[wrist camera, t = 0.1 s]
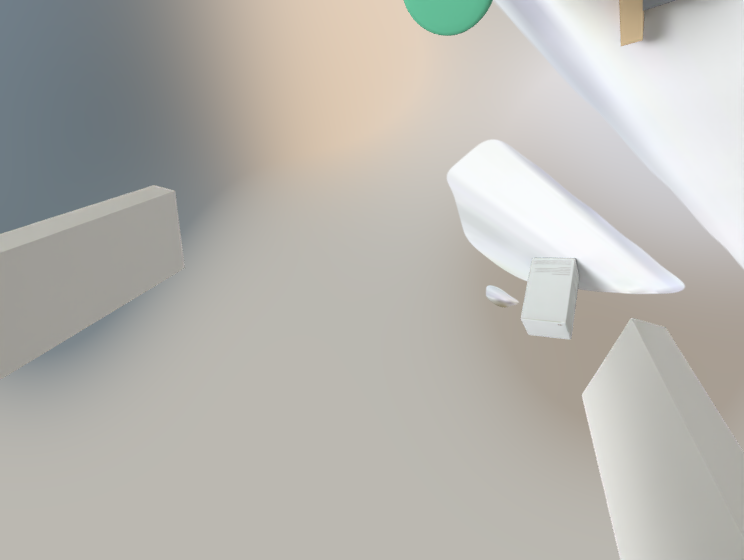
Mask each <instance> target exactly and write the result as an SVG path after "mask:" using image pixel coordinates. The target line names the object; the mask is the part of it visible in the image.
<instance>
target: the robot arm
mask: <svg viewBox="0 0 744 560" xmlns="http://www.w3.org/2000/svg"><path fill="white" fill-rule="evenodd" d="M184 268H185V265H184V259H183V250H182V242H181V234H180V227H179V219H178V211H177V203H176V195H175V191H173V190H170V189H167V188H162V187H159V186H156V185H153V186H150V187H147V188H143V189H140V190H137V191H134V192H131V193H128V194H124V195H121V196H119V197H115V198H112V199H109V200H106V201H103V202H99V203H96V204H93V205H90V206H87V207H84V208H80V209H77V210H74V211H71V212H68V213H65V214H62V215H59V216H55V217H52V218H49V219H46V220H43V221H40V222H36V223H33V224H30V225H28V226H24V227H21V228H17V229H15V230H11V231H8V232H5V233H2V234H0V379H2V378H4V377H5V376H7V375H9V374H10V373H12V372H14V371H15V370H17V369H19V368H20V367H22V366H23V365H25V364H27V363H29V362H30V361H32V360H33V359H35V358H37V357H38V356H40V355H42V354H43V353H45V352H47V351H48V350H50V349H52V348H53V347H55V346H57V345H58V344H60V343H61V342H63V341H65V340H66V339H68V338H70V337H71V336H73V335H75V334H76V333H78V332H80V331H81V330H83V329H85V328H86V327H88V326H90V325H91V324H93V323H94V322H96V321H98V320H100V319H101V318H103V317H104V316H106V315H108V314H109V313H111V312H113V311H114V310H116V309H118V308H119V307H121V306H122V305H124V304H126V303H128V302H129V301H131V300H133V299H134V298H136V297H137V296H139V295H141V294H142V293H144V292H146V291H147V290H149V289H150V288H152V287H154V286H156V285H157V284H159V283H161V282H162V281H164V280H165V279H167V278H169V277H171V276H172V275H174V274H175V273H177V272H179V271H180V270H182V269H184ZM582 398H583V403H584V407H585V410H586V415H587V420H588V424H589V428H590V433H591V437H592V441H593V445H594V450H595V454H596V458H597V462H598V467H599V471H600V475H601V480H602V484H603V488H604V492H605V497H606V501H607V505H608V510H609V514H610V518H611V522H612V527H613V531H614V535H615V540H616V544H617V548H618V552H619V557H620V560H744V452H743V450H742V449H741V447H740V445H739V444H738V442H737V441H736V439H735V437H734V436H733V434H732V433H731V431H730V429H729V428H728V426H727V425H726V423H725V421H724V420H723V419H722V417H721V415H720V414H719V412H718V410H717V409H716V407H715V406H714V404H713V402H712V401H711V399H710V398H709V396H708V394H707V393H706V391H705V390H704V388H703V386H702V385H701V383H700V382H699V380H698V378H697V377H696V375H695V374H694V372H693V370H692V369H691V367H690V365H689V364H688V362H687V361H686V359H685V357H684V356H683V354H682V353H681V351H680V350H679V348H678V347H677V345H676V343H675V342H674V340H673V338H672V337H671V335H670V334H669V332H668V330H667V329H666V327H663V326H660V325H656V324H653V323H649V322H645V321H642V320H638V319H635V318H631V319H630V320H629V322H628V323H627V325H626V327H625V328H624V330H623V332H622V333H621V335H620V336H619V338H618V339H617V341H616V342H615V344H614V345H613V347H612V349H611V350H610V352H609V353H608V355H607V356H606V358H605V360H604V361H603V363H602V364H601V366H600V367H599V369H598V370H597V372H596V374H595V375H594V377H593V378H592V380H591V381H590V383H589V385H588V386H587V388H586V389H585V391H584V392H583V394H582Z"/></svg>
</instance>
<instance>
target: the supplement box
mask: <svg viewBox="0 0 744 560" xmlns="http://www.w3.org/2000/svg"><path fill="white" fill-rule="evenodd" d="M578 285H579V274H578V269H577V264H576V259H575V258H532V261H531V266H530V272H529V277H528V282H527V288H526V293H525V299H524V304H523V309H522V314H521V320H522V323H523V325H524V326H525V328H526V330H527V332H528V334H529V335H535V336H543V337H544V336H545V337H552V338H562V339H571V336H572V330H573V322H574V314H575V307H576V299H577V291H578Z"/></svg>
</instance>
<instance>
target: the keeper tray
mask: <svg viewBox="0 0 744 560" xmlns="http://www.w3.org/2000/svg"><path fill="white" fill-rule="evenodd" d="M672 1H675V0H619V5H620V33H621V46H624V45H627V44H631V43H635V42H638V41H642V40H643V28H644V10H647V9H650V8H653V7H656V6H659V5H663V4H666V3H669V2H672Z"/></svg>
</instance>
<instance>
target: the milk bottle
mask: <svg viewBox="0 0 744 560" xmlns="http://www.w3.org/2000/svg"><path fill="white" fill-rule="evenodd" d="M492 1H493V0H404V3H405V5H406V8H407V9H408V12H409V13H410V15H411V16H412V17H413V19H414V20H415V21H416V22H417V23H418V24H419V25H420V26H421V27H423V28H424V29H426V30H427V31H430V32H432V33H434V34H438V35H447V36H448V35H456V34H459V33H463V32H465V31H467V30H468V29H470V28H471V27H473V26H474V25H475V24H476V23H478V22H479V20H481V18H482V17H483V16H484V15H485V14H486V12H487V11H488V8H489V7H490V5H491V3H492Z"/></svg>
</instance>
